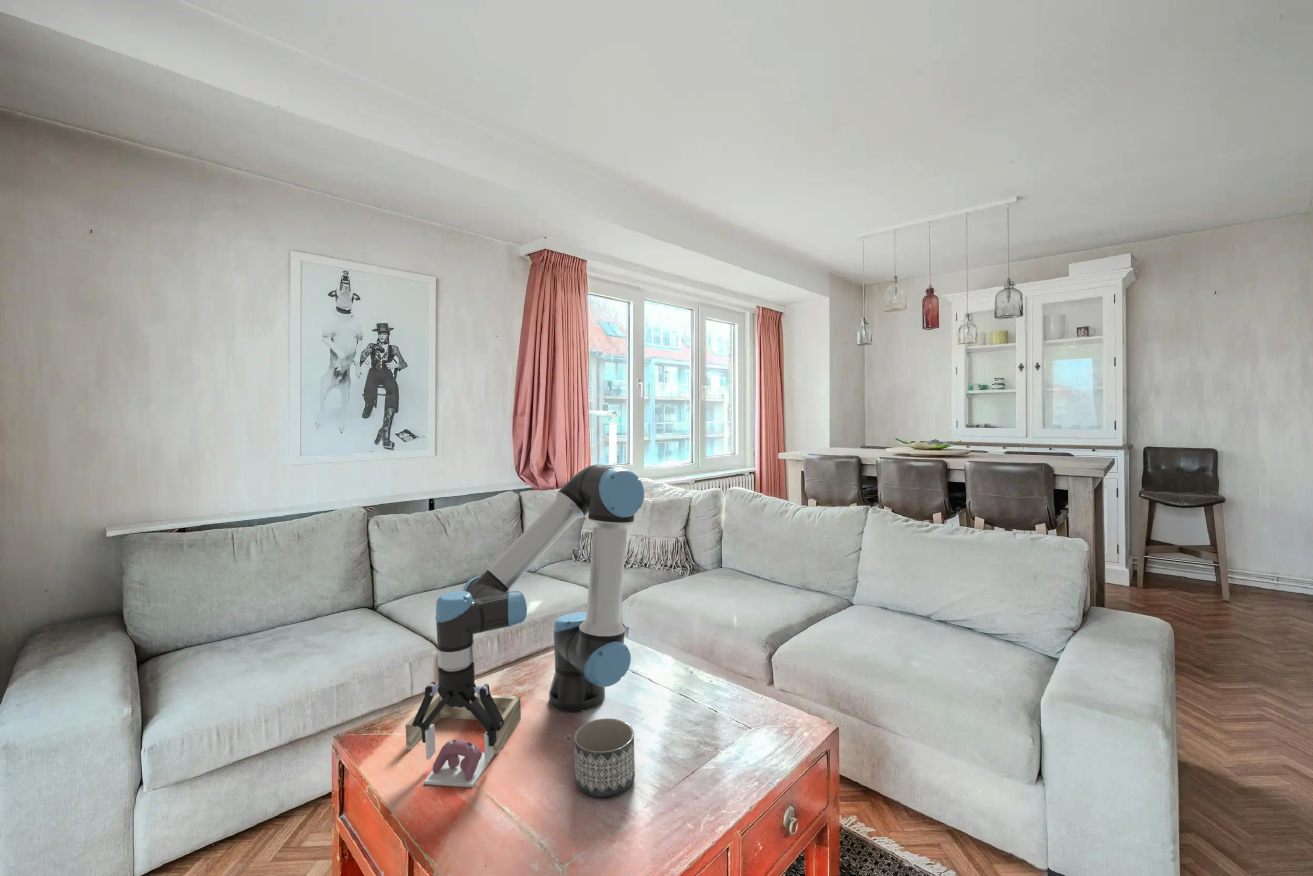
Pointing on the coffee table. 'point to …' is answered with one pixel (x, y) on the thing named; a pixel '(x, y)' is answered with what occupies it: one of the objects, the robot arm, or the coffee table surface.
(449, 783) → the pad
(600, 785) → the planter
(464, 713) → the bay
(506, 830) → the coffee table surface
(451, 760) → the video game controller
